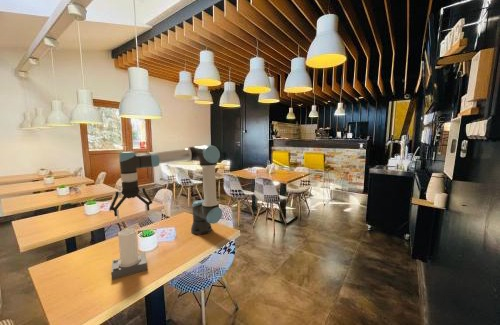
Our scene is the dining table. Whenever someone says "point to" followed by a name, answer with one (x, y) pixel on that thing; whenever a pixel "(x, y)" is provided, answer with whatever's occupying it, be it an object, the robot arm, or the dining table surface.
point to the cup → (128, 246)
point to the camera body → (128, 267)
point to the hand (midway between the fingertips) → (133, 219)
